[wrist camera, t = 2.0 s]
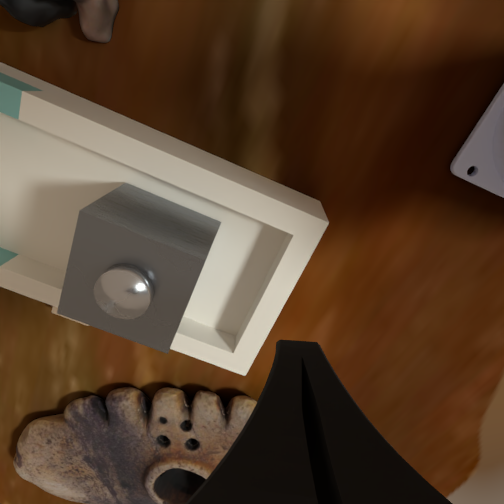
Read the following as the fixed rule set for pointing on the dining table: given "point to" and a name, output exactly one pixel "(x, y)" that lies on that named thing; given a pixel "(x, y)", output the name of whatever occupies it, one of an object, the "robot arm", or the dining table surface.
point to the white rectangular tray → (156, 182)
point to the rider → (135, 265)
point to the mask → (131, 446)
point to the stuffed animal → (68, 14)
